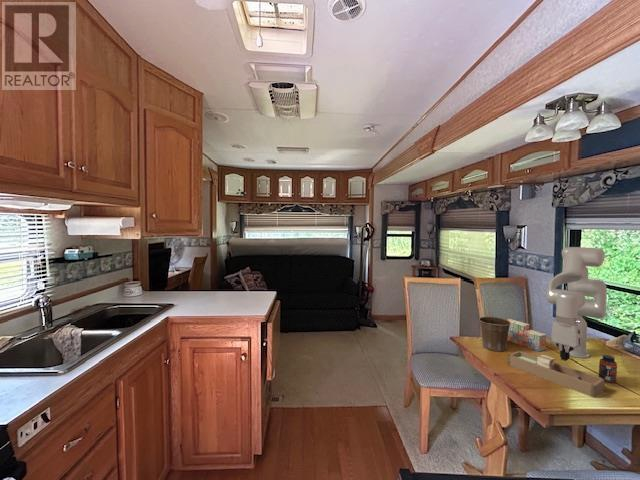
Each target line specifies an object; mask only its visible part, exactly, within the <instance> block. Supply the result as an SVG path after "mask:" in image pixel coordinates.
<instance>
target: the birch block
mask: <svg viewBox="0 0 640 480" xmlns="http://www.w3.org/2000/svg"><path fill="white" fill-rule="evenodd" d="M554 362H555V358H554V357H551V356H547V355H544V354H541V355H539V356H537V364H538V365H541V366H543V367H546V368H549V369H552V370H553V369H554Z"/></svg>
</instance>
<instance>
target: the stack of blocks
mask: <svg viewBox="0 0 640 480" xmlns="http://www.w3.org/2000/svg"><path fill="white" fill-rule="evenodd" d="M507 320H508V321H510V322H511V324H510V327H509V330H508V338H507V342H508V341H509V342H511V343H512V344H513V343H514V344H515V345H516V344H517V345H520V346H522V347H525V348H528V349H529V350H530V349H531V350H532V351H533V350H534V351H536V352H543V351H546V341H547V333H542V332H540V331H538V330H537V331H535V330H533V329H531V325H530V324H529V323H525V322H523V321H518V320H514V319H512V318H508V319H507Z"/></svg>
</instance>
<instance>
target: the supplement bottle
mask: <svg viewBox="0 0 640 480" xmlns="http://www.w3.org/2000/svg"><path fill="white" fill-rule="evenodd" d="M615 358H616V357H614V356H612V355H610V354H602V357H601V358H600V359H599V365H598V366H599V367H598V377H600V378H603V379H605V382H606V383H611V384H613V383H616V382H617V372H618V363H617V362H616V361H615Z"/></svg>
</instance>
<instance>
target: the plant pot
mask: <svg viewBox="0 0 640 480" xmlns="http://www.w3.org/2000/svg"><path fill="white" fill-rule="evenodd" d="M478 321H479V326H480V330H481V331H480V332H481V342H482V347H483V348H485V349H486V350H492V351H493V352H505V351H506V350H507V346H508V340H507V338H508V330H509V327H510V324H511V322H510V321H508V319H505V318H501V317H498V316H497V317H494V316H481V317H479V318H478Z"/></svg>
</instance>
